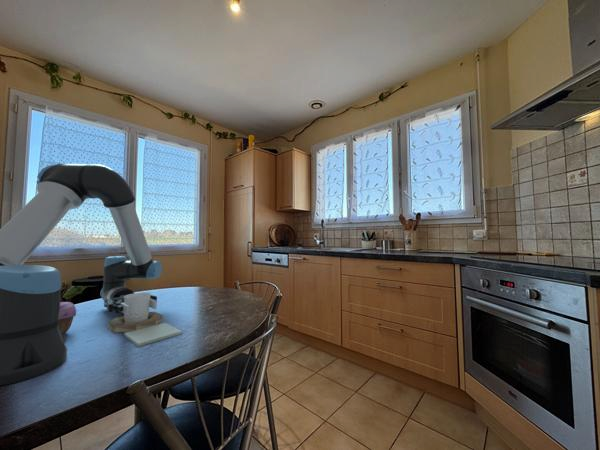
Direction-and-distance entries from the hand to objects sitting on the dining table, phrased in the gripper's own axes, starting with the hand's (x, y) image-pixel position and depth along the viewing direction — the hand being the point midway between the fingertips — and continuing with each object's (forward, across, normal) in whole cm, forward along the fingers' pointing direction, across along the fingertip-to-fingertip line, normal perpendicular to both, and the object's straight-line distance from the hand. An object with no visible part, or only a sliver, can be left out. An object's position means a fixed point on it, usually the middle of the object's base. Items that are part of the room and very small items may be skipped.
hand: (142, 307), depth 84 cm
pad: (+10, 0, -6) cm, 12 cm away
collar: (-5, 0, -6) cm, 8 cm away
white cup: (-5, 0, -7) cm, 8 cm away
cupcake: (-13, +19, -7) cm, 24 cm away
